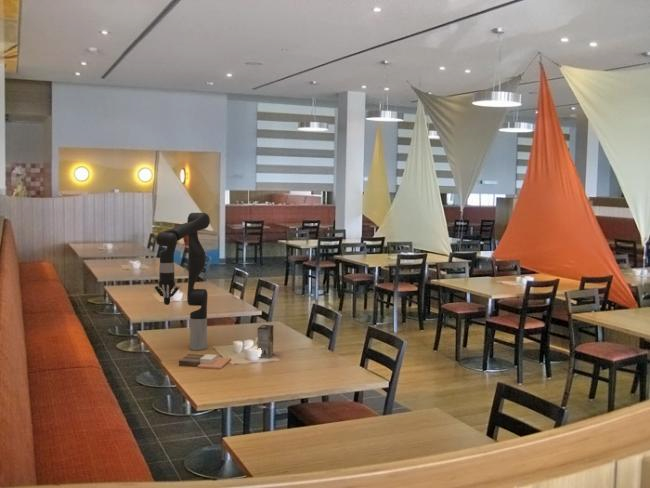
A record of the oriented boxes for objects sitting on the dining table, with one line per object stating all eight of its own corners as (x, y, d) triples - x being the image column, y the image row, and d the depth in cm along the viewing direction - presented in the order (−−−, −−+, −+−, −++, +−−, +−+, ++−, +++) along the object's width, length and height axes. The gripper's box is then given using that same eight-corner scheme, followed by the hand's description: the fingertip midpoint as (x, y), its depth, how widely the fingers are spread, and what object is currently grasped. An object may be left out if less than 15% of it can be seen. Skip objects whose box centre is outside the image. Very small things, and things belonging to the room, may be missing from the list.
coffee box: (262, 353, 372) (262, 324, 371) (273, 354, 371) (273, 325, 369) (257, 357, 363) (257, 327, 362) (268, 358, 362) (269, 328, 361)
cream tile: (205, 359, 355) (205, 354, 355) (216, 359, 354) (216, 355, 354) (199, 363, 346) (199, 358, 346) (211, 364, 345) (211, 359, 345)
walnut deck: (188, 358, 359) (188, 353, 359) (206, 359, 357) (206, 355, 357) (178, 365, 345) (178, 360, 345) (197, 366, 344) (197, 362, 343)
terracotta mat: (208, 358, 359) (208, 356, 359) (231, 360, 358) (231, 358, 357) (197, 368, 342) (197, 366, 342) (220, 369, 340) (220, 367, 340)
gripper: (181, 270, 355) (181, 303, 356) (157, 269, 357) (157, 302, 358) (176, 272, 347) (176, 306, 349) (151, 271, 349) (151, 305, 351)
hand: (167, 304), depth 354 cm, fingers closed
